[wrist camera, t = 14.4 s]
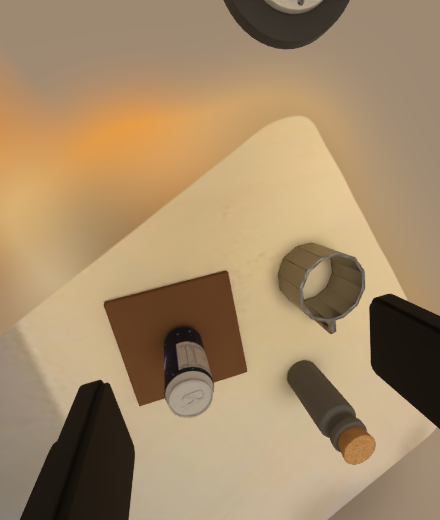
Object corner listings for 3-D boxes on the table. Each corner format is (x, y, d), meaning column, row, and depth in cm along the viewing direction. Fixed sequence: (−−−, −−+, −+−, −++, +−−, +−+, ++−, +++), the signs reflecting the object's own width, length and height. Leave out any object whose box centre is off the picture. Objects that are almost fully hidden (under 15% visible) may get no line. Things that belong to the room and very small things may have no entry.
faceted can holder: (274, 251, 41) (296, 263, 34) (332, 237, 43) (363, 245, 36) (284, 324, 45) (305, 347, 38) (337, 308, 46) (366, 328, 40)
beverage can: (157, 332, 39) (156, 390, 28) (193, 318, 40) (207, 369, 29) (171, 363, 41) (175, 428, 30) (205, 348, 42) (222, 407, 30)
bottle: (281, 383, 48) (332, 464, 34) (296, 356, 47) (355, 427, 33) (306, 391, 50) (365, 471, 35) (321, 365, 49) (387, 436, 35)
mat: (104, 301, 38) (103, 304, 37) (226, 270, 40) (228, 272, 39) (139, 401, 43) (139, 406, 42) (245, 368, 45) (247, 371, 44)
